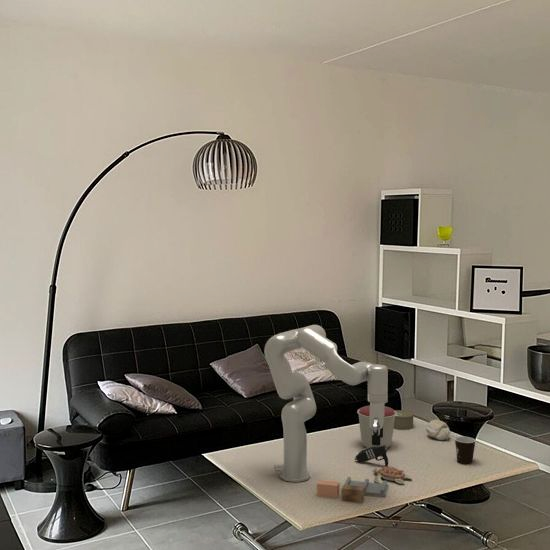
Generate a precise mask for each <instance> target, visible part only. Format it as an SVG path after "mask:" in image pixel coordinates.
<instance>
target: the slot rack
mask: <svg viewBox="0 0 550 550" xmlns="http://www.w3.org/2000/svg"><path fill="white" fill-rule="evenodd" d="M382 481H383V483H377V482H371V481H370V479H369V478H365V479H364V481H360V480H359V481H358V480H352V477H351V476H348V477H347V478H346V480H345V482H344V484H343V485H353V486H363V487H364V496H365V497H366V496H369V497H376V498H377V497H378V498H386V496H387V494H388V490H389V487H390V485H389V484H388V480H382ZM340 492H341V494H342V489H341V491H340Z"/></svg>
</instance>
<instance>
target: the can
mask: <svg viewBox="0 0 550 550" xmlns="http://www.w3.org/2000/svg"><path fill="white" fill-rule="evenodd" d="M395 411H396V412H397V414H396V415H395V421H394V429H393V430H397V431H407V430H408V431H409V429H410V430H413V428H414V415H415V414H414V413H413V412H412V411H409V410H403V409H402V410H400V409H399V410H397V409H396V410H395Z"/></svg>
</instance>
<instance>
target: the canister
mask: <svg viewBox="0 0 550 550" xmlns="http://www.w3.org/2000/svg"><path fill="white" fill-rule="evenodd" d="M356 413H357V414H358V421H359V433H360V439H361V442H362V445H363V446H364V447H365V449H366V448H369V447H371V446H372V447H373V446H377V445H372V430H373V427H372V428H369V416H370V405H365V406H363V407H360V408H359V409H357V412H356ZM396 414H397V412H396V410H394V409H393V408H392V407H389V406H385V405H384V423H383V438H381V439H380V446H383V445H385V446H386V447H387V449H389V447H391V445H392V441H393V434H394V430H395V429H394V421H395V415H396Z"/></svg>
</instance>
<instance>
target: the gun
mask: <svg viewBox="0 0 550 550" xmlns="http://www.w3.org/2000/svg"><path fill="white" fill-rule="evenodd" d="M387 453H388V448H387V447H386V446H385V445H383V446H373V447H372V446H371V447H369V448H366V447H365V448H363V449H362V450H360V451H359V452H358V453H357V454H356V455H355V457H354V461H357V464H363V463H366V462H368V461H371V460H376V462H377V461H378V462H380V461H384V467H387V466H389V458H388V456H387Z"/></svg>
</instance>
